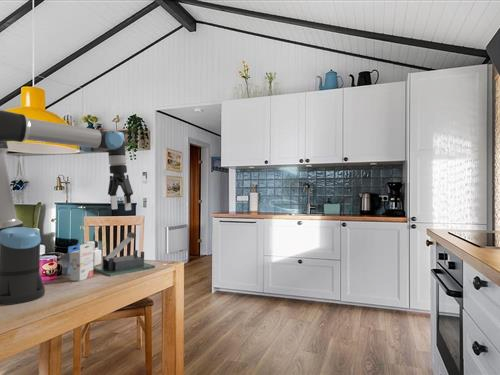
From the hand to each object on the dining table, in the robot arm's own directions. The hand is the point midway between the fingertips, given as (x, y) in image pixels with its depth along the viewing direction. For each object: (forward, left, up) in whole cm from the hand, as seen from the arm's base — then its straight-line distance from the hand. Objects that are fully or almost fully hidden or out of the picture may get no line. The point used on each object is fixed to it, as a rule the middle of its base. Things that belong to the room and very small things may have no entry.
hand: (121, 209), depth 155 cm
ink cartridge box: (-19, -3, -29) cm, 34 cm away
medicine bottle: (-5, +22, -29) cm, 36 cm away
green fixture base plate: (+2, +1, -28) cm, 29 cm away
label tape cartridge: (-18, +12, -29) cm, 36 cm away
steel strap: (+1, +1, -18) cm, 18 cm away
